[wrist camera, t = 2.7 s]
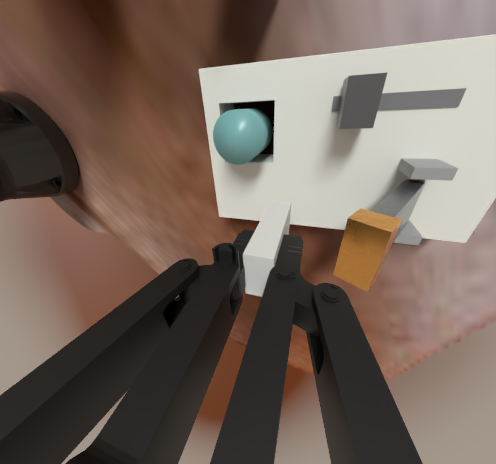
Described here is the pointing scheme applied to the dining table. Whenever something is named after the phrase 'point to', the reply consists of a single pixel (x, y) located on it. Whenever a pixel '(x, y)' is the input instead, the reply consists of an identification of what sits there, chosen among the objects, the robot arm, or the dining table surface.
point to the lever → (375, 234)
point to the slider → (360, 100)
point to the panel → (366, 136)
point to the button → (242, 134)
